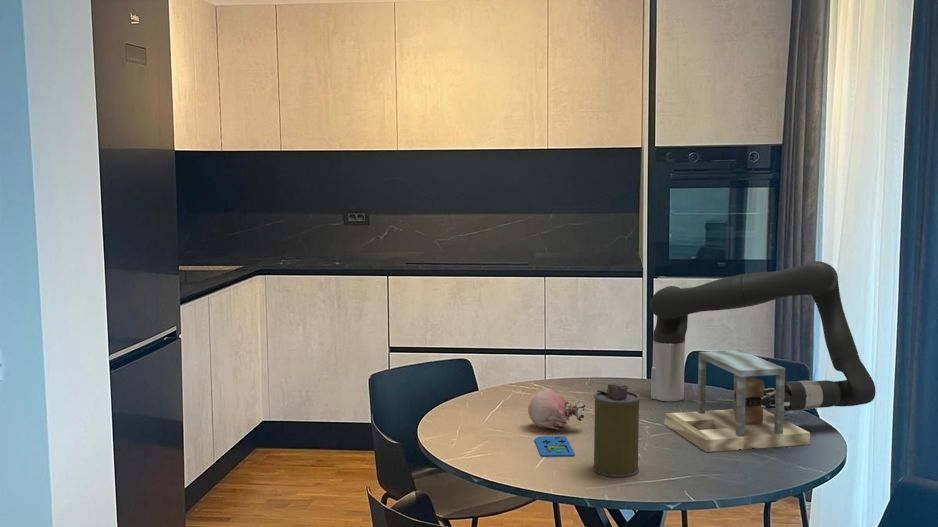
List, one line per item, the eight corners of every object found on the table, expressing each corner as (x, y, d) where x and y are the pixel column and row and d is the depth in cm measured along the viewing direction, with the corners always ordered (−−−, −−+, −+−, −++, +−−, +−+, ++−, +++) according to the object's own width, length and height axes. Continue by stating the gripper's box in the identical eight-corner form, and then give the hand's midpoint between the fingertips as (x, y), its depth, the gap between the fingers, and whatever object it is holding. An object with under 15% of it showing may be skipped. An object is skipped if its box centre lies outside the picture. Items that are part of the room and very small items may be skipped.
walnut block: (744, 424, 236) (746, 382, 235) (735, 419, 241) (736, 378, 240) (762, 423, 237) (764, 381, 236) (752, 418, 242) (754, 377, 241)
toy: (588, 417, 249) (533, 410, 253) (588, 383, 245) (533, 377, 248) (581, 443, 239) (524, 435, 242) (581, 408, 234) (524, 401, 238)
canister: (648, 472, 210) (650, 386, 208) (613, 480, 204) (615, 392, 202) (616, 459, 219) (617, 376, 217) (582, 467, 213) (583, 382, 211)
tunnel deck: (705, 452, 224) (707, 373, 222) (664, 424, 247) (666, 352, 245) (809, 444, 230) (812, 367, 228) (759, 418, 253) (762, 348, 251)
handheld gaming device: (565, 434, 236) (575, 453, 221) (565, 439, 236) (575, 457, 221) (533, 435, 235) (541, 454, 220) (533, 439, 235) (541, 458, 221)
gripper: (785, 375, 248) (727, 378, 244) (816, 388, 234) (754, 392, 230) (784, 402, 249) (726, 406, 245) (815, 416, 235) (753, 421, 231)
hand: (740, 399), depth 238 cm, fingers closed on walnut block, 5 cm apart
